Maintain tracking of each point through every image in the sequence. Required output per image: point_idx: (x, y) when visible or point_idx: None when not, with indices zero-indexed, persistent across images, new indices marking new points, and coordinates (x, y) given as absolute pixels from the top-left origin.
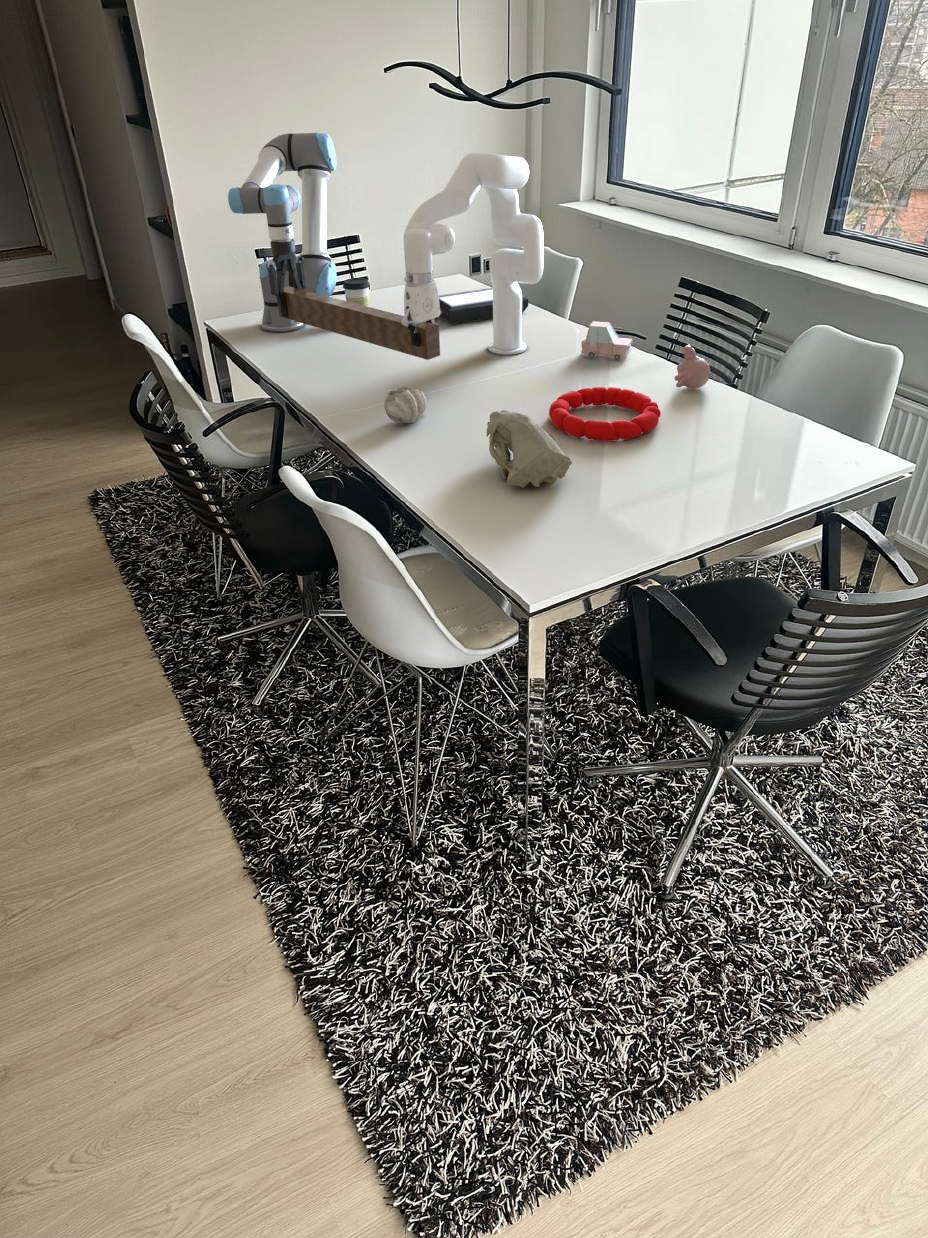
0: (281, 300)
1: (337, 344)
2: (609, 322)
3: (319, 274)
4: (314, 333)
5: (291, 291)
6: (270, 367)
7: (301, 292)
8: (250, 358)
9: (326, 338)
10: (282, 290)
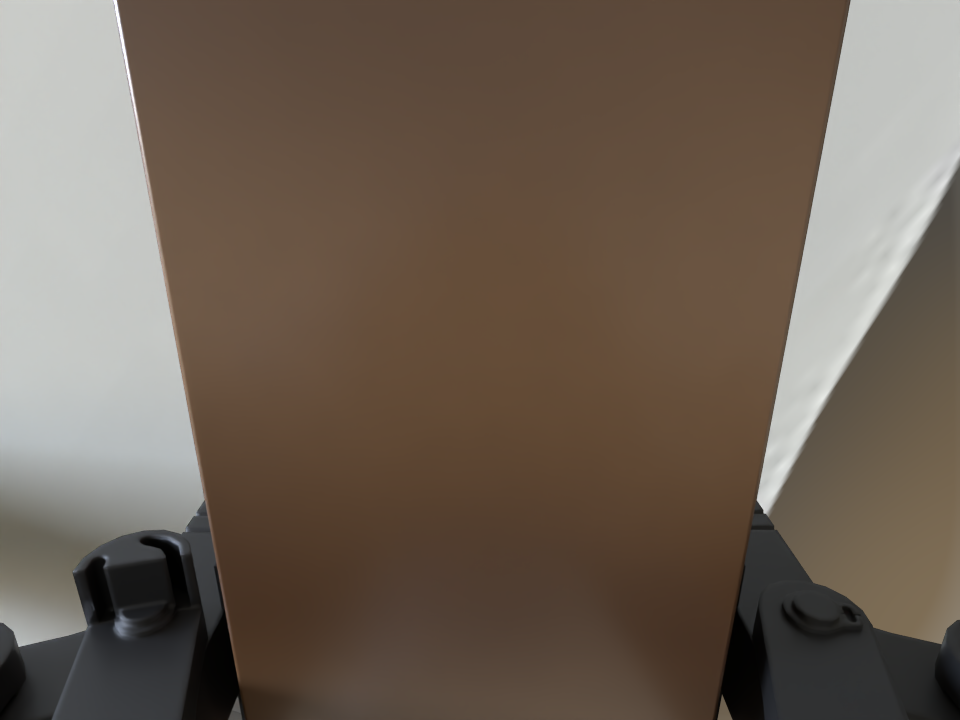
0: (761, 548)
1: (105, 180)
2: None
3: None
4: (117, 535)
5: (583, 550)
6: (879, 141)
7: (453, 139)
8: (788, 443)
9: (102, 381)
10: (836, 714)
